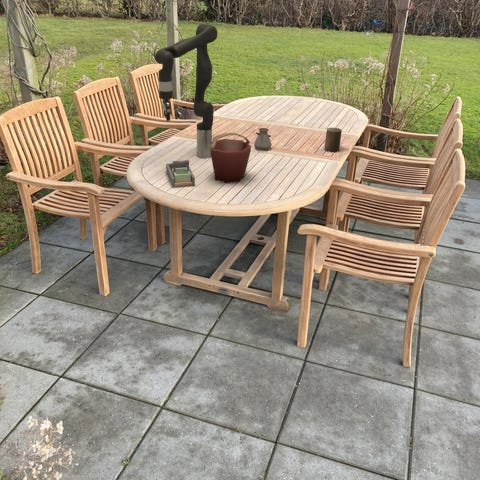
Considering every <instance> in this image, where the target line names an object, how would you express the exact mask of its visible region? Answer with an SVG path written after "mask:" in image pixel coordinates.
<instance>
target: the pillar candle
mask: <svg viewBox="0 0 480 480" xmlns="http://www.w3.org/2000/svg"><path fill="white" fill-rule="evenodd" d="M342 131H343V130H342V128H339V127H328V128H327V127H326V133H325V139H324V140H325V141H324V151H326V152H328V151H329V153H338V152H340V147H341V138H342ZM337 151H338V152H337Z"/></svg>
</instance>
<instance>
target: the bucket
mask: <svg viewBox="0 0 480 480" xmlns="http://www.w3.org/2000/svg"><path fill="white" fill-rule="evenodd" d="M229 136H238V137H240V138H243V139H244V140H245V141H243V140H241V139H231V138H230V139H229V138H224V137H229ZM221 138H222V139H221ZM250 143H251V141H250V139H248V137H246V136H244V135H241V134H240V133H237V132H226V133H225V132H224V133H221V134H218V135H215V136H212V142H210V146H209V148H210V152H211V157H210V158H211V159H210V160H211V163H212V168H213V174H214V179H215V180H216V181H218V182H222V183H225V184H228V183H229V184H231V182H232V183H239V182H241V181H242V180H243V179H245V176H246V170H247V168H248V163H249V160H250V156H251V155H250V154H251V149H252V148H251V147H252V145H251V144H250Z"/></svg>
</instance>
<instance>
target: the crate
mask: <svg viewBox="0 0 480 480" xmlns="http://www.w3.org/2000/svg"><path fill="white" fill-rule="evenodd" d="M172 163H173V169H172V174H173V176H174V179H175V183H183V182H191V174H190V172H189V167H190V160H188V159H186V160H173V161H172ZM177 165H187V168H175V166H177Z"/></svg>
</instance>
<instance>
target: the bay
mask: <svg viewBox="0 0 480 480" xmlns="http://www.w3.org/2000/svg"><path fill="white" fill-rule="evenodd" d="M175 168H187V165H177V166H175ZM165 169H166V171H165V172H166V175H167V177H168V180H169V182H170V185H171V188H172V189H175V188H187V187H195V186H196V183H195V182H196V179H195V178H196V177H195V176H194V173H193V171H192V169H191V168H190V166H189V172H190V174H191V182H183V183H175V179H174V176H173V174H172V169H173V162H172V163H171V162H169V163H165Z"/></svg>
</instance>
